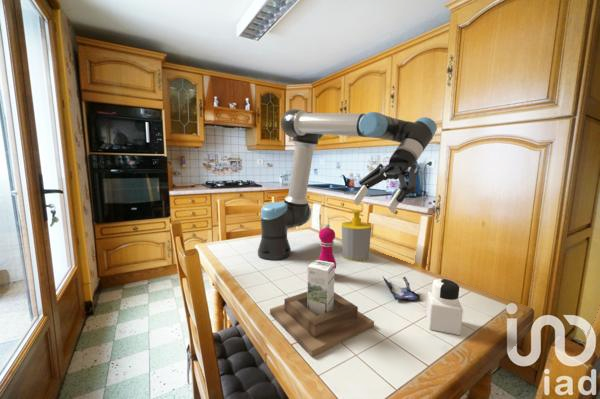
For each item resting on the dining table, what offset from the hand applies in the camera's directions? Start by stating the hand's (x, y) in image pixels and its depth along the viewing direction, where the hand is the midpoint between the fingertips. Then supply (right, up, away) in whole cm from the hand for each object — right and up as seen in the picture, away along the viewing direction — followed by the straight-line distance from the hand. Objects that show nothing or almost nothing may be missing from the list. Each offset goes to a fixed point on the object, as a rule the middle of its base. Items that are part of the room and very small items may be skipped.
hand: (371, 205), depth 82 cm
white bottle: (+16, -31, -10) cm, 37 cm away
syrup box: (-16, -30, -9) cm, 35 cm away
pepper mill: (-12, -27, +19) cm, 35 cm away
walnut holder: (-16, -31, -9) cm, 36 cm away
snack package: (+11, -29, +6) cm, 32 cm away
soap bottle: (+3, -24, +40) cm, 46 cm away
